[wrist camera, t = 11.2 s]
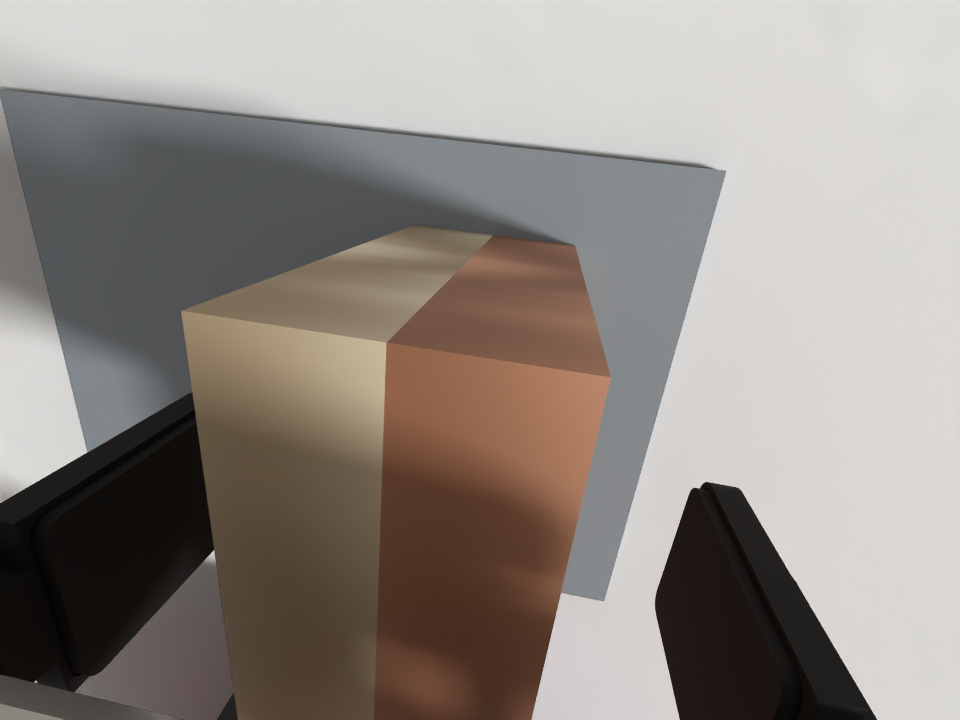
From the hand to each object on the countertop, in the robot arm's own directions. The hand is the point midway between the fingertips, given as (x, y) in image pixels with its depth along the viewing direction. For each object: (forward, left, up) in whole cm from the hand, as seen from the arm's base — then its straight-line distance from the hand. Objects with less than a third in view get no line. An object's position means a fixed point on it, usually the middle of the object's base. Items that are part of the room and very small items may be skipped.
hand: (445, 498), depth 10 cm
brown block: (0, 0, -4) cm, 4 cm away
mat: (+4, 0, -5) cm, 6 cm away
